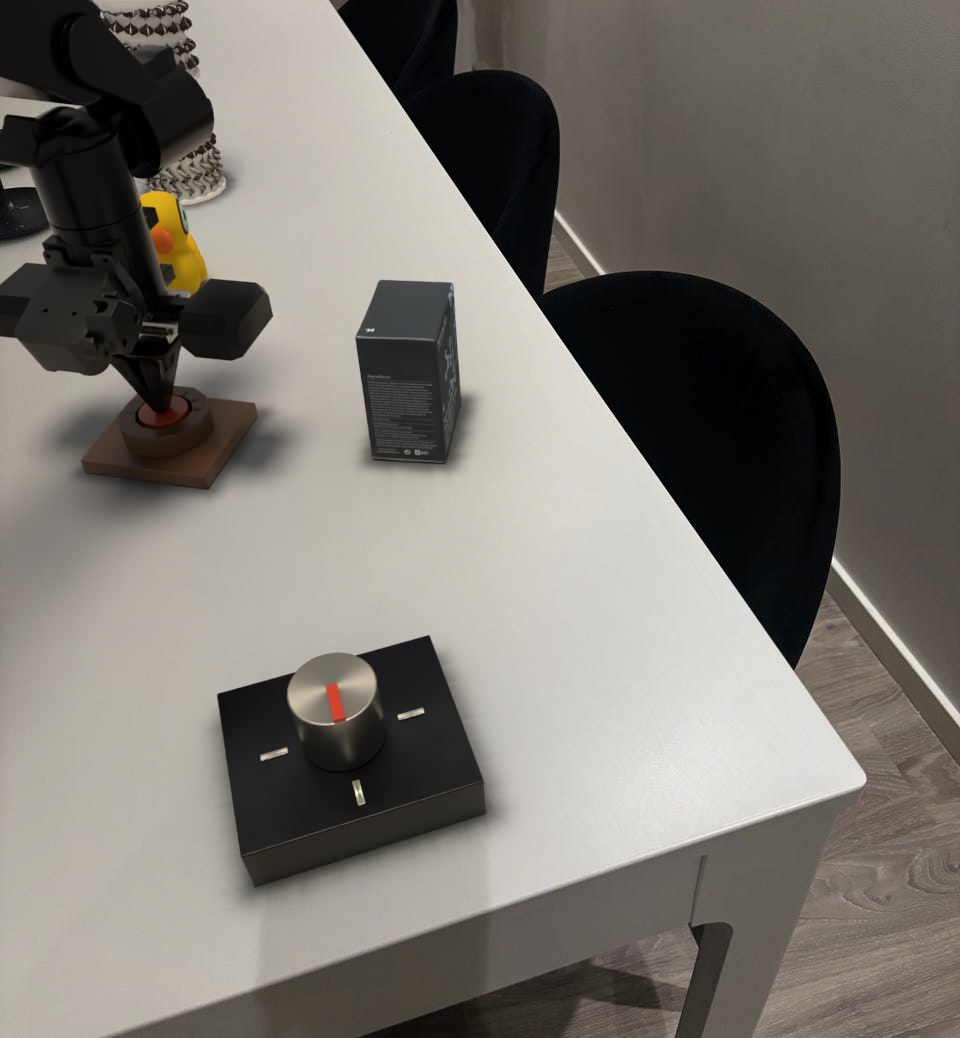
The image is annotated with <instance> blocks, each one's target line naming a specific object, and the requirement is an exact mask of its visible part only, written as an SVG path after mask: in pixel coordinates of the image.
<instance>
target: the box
mask: <svg viewBox="0 0 960 1038" xmlns="http://www.w3.org/2000/svg"><path fill="white" fill-rule="evenodd" d="M455 303H456V300H455V287H454V283H453V282H451V281H450V282H448V281H427V280H425V281H424V280H398V279H396V280H395V279H380V280H378V281H377V282H376V286H375V290H374V292H373V295H372V297H371V300H370V303H369V305H368V307H367V310H366V311H365V315H364V316H363V319H362V321H361V323H360V325H359V327H358V330H357V332H356V334H355V336H354V339H355V345H356V347H355V348H356V353H357V354H356V355H357V360H358V368H359V373H360V374H359V375H360V383H361V389H362V396H363V403H364V411H365V417H366V424H367V430H368V437H369V444H370V450H371V457H372V458H373V459H379V460H390V461H391V460H393V461H407V462H422V463H423V462H426V463H439V464H442V463H444V462H445V461H446V460H447V457H448V453H449V448H450V445H451V441H452V436H453V432H454V429H455V425H456V421H457V417H458V413H459V411H460V410H459V409H460V406H461V404H462V391H461V378H460V377H461V376H460V362H459V361H460V360H459V350H458V349H459V348H458V334H457V333H458V332H457V319H456V306H455Z"/></svg>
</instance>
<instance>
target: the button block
mask: <svg viewBox="0 0 960 1038" xmlns="http://www.w3.org/2000/svg"><path fill="white" fill-rule="evenodd" d="M172 396H178V397H181V398H183V399H184V400H185V401H186V402H187V404H188V407H189V410H190V414H189V415H188V417H187V418H186V419H185V420H183V421H181V422H179V423H177V424H175V425H174V426H170V427H165V428H160V429H150V428H143V427H142V425H141V422H140V419H139V416H138V413H139V410H140V408H141V407H142V406H143V405H144V404H145V403H146V402H145V401H144V400H143V399H142V398H141V397H140V396H139V394H138V393H137V392H136V394H135V395H134V396H133V397H132V398H131V399H130V400H129V401H128V402H127V403H126V404H125V406H124V407H123V408H122V409H121V410H120V412H119V413H118V415H117V416H116V418H115V419H114V420H113V421H112V422H111V423H110V425H109V426H108V427H107V428H106V429H105V430H104V432H103V433H102V434H101V435H100V436H99V438H98V439H97V440H95V442H94V444H93V445H92V446H91V447H90V448H89V449H88V451H87V452H86V453H85V454H84V455H83V456H82V458H81V459H80V463H81V466H82V467H83V470H84V472H85V473H89V474H97V475H103V476H109V477H110V476H112V477H116V478H117V477H119V478H124V479H133V480H139V481H146V482H154V483H161V484H167V485H175V486H183V487H190V488H197V489H204V490H205V489H206V490H208V489H209V488H210V486H211V485H212V483H213V482H214V481H215V479H216V478H217V476H218V475H219V473H220V472H221V470H222V469H223V467H224V466H225V464H226V463H227V461H228V460H229V458H230V457H231V455H233V452H235V450H236V448H237V447H238V445H239V444H240V442H241V441H242V439H243V438H244V436H245V435H246V433H247V432H248V430H249V429H250V427H251V426H252V424H253V423H254V422H255V420H256V419H257V417H258V416H259V413H258V409H257V406H256V402H250V401H241V400H235V399H234V400H232V399H226V398H225V399H223V398H217V397H216V398H214V397H208V396H207V395H206V394H204V393H203V392H201V391H200V390H199V389H197V388H195V387H192V386H191V387H190V386H183V385H175V384H174V388H173V394H172Z"/></svg>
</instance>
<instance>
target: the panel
mask: <svg viewBox="0 0 960 1038" xmlns="http://www.w3.org/2000/svg"><path fill="white" fill-rule="evenodd" d="M355 656H357V657H359V658H361V659H363V660H364V661H366V662H367V663H368V664H369V665H370V666H371V667H372V669H373V671H374V672H375V675H376V679H377V684H378V689H379V694H380V699H381V704H382V709H383V714H384V719H385V724H386V736H385V740H384V743H383V745H382V747H381V748H380V750H379V751H378V753H377V754H376V755H375V756H374V757H373V758H372V759H371V760H369V761H368V762H367V763H365V764H364V765H362V766H360V767H357V768H354V769H351V770H347V771H329V770H325V769H322V768H320V767H318V766H316V765H314V764H313V763H312V762H310V761H309V759H308V758H307V757H306V756H305V754H304V752H303V750H302V747H301V743H300V740H299V737H298V734H297V730H296V727H295V724H294V721H293V717H292V714H291V711H290V708H289V704H288V701H287V689H288V685H289V683H290V680H291V679H292V677H293V675H294V674H295V672H296V671H294V672H291V673H287V674H283V675H280V676H276V677H272V678H269V679H266V680H265V679H264V680H261V681H258V682H255V683H251V684H247V685H243V686H241V687H236V688H233V689H228V690H226V691H222V692H218V693H217V694H216V700H217V706H218V714H219V720H220V726H221V733H222V740H223V741H222V742H223V746H224V753H225V754H224V755H225V760H226V767H227V774H228V780H229V781H228V782H229V788H230V794H231V800H232V802H231V803H232V807H233V808H232V809H233V814H234V820H235V827H236V828H235V829H236V835H237V842H238V846H239V849H238V850H239V855H240V859H241V861H242V863H243V865H244V867H245V870H246V872H247V874H248V876H249V880H250V881H251V884H252V886H253V887H258V886H261V885H264V884H267V883H269V882H270V883H271V882H273V881H277V880H280V879H283V878H286V877H290V876H292V875H295V874H299V873H302V872H305V871H308V870H311V869H314V868H317V867H321V866H323V865H326V864H330V863H333V862H336V861H340V860H343V859H346V858H348V857H352V856H355V855H359V854H361V853H365V852H368V851H371V850H373V849H377V848H381V847H384V846H386V845H389V844H394V843H396V842H399V841H402V840H406V839H408V838H409V839H410V838H412V837H415V836H418V835H422V834H424V833H427V832H430V831H434V830H438V829H441V828H443V827H447V826H450V825H452V824H455V823H459V822H462V821H465V820H469V819H472V818H475V817H478V816H480V815H484V814H487V800H486V789H485V788H486V787H485V780H484V777H483V775H482V771H481V770H480V767H479V764H478V761H477V758H476V756H475V753H474V751H473V748H472V745H471V742H470V740H469V737H468V734H467V731H466V730H465V726H464V724H463V721H462V718H461V716H460V713H459V710H458V707H457V705H456V701H455V700H454V697H453V694H452V691H451V689H450V686H449V683H448V681H447V677H446V675H445V673H444V670H443V667H442V665H441V662H440V659H439V656H438V654H437V651H436V648H435V645H434V643H433V640H432V638H431V635H429V634H427V635H424V636H420V637H417V638H412V639H410V640H406V641H405V640H404V641H403V642H398V643H395V644H392V645H388V646H384V647H381V648H377V649H373V650H369V651H367V652H363V653H359V654H355Z"/></svg>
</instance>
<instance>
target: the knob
mask: <svg viewBox="0 0 960 1038" xmlns="http://www.w3.org/2000/svg"><path fill="white" fill-rule="evenodd" d="M355 655H356V654H355ZM355 655H354V654H351V653H347V652H330V653H324V654H322V655H318V656H316V657H314V658H313V657H312V658H311V659H310V660H308V661H306V662H305V663H303V664H302V665H301V666H300V667H299V668H298V669H297V670H296V671H294V672H295V674H294V675H293V677H292V679H291V680H290V683H289V685H288V689H287V701H288V704H289V708H290V711H291V714H292V717H293V721H294V724H295V727H296V730H297V734H298V737H299V740H300V743H301V747H302V750H303V752H304V754H305V756H306V757H307V758H308V759H309V761H310V762H312V763H313V764H314V765H316V766H318V767H320V768H322V769H325V770H329V771H347V770H351V769H354V768H357V767H360V766H362V765H364V764H365V763H367V762H368V761H369V760H371V759H372V758H373V757H374V756H375V755H376V754H377V753H378V751H379V750H380V748H381V747H382V745H383V743H384V740H385V736H386V724H385V719H384V714H383V709H382V704H381V699H380V694H379V689H378V684H377V679H376V675H375V672H374V671H373V669H372V667H371V666H370V665H369V664H368V663H367V662H366V661H364V660H363V659H361V658H359V657H357V656H355Z"/></svg>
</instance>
